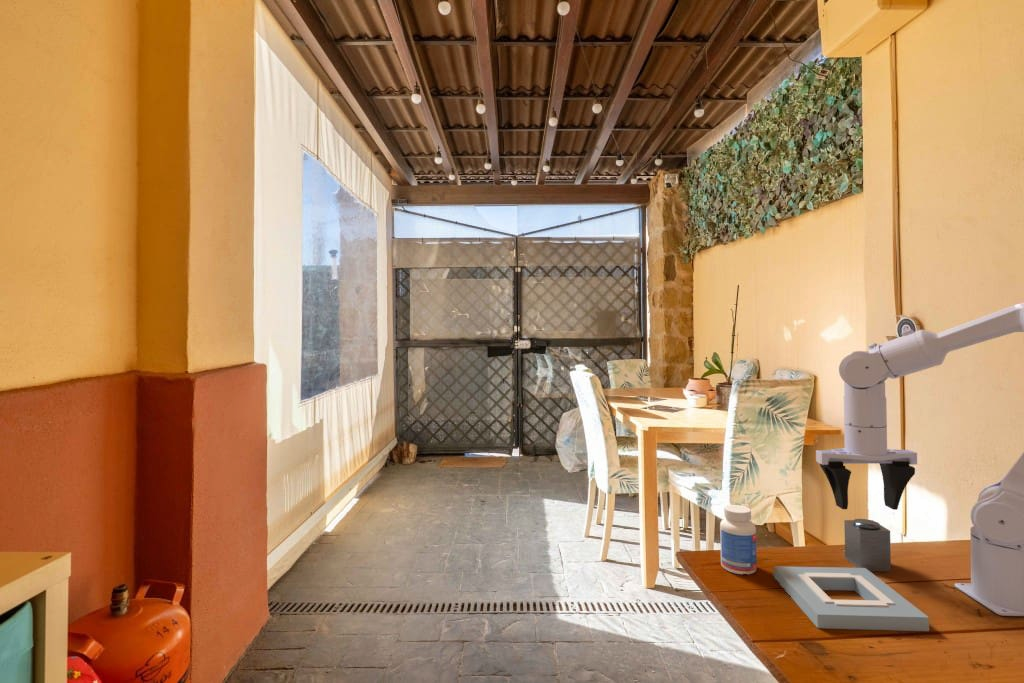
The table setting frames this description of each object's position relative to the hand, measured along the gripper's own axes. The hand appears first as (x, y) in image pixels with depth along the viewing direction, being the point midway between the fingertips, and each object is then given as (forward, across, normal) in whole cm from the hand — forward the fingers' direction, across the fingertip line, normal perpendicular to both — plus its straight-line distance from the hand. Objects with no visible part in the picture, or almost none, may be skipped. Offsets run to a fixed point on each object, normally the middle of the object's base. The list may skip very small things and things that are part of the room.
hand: (866, 507), depth 82 cm
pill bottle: (+10, +21, +2) cm, 23 cm away
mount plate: (+9, +10, +12) cm, 18 cm away
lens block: (+10, 0, 0) cm, 10 cm away
